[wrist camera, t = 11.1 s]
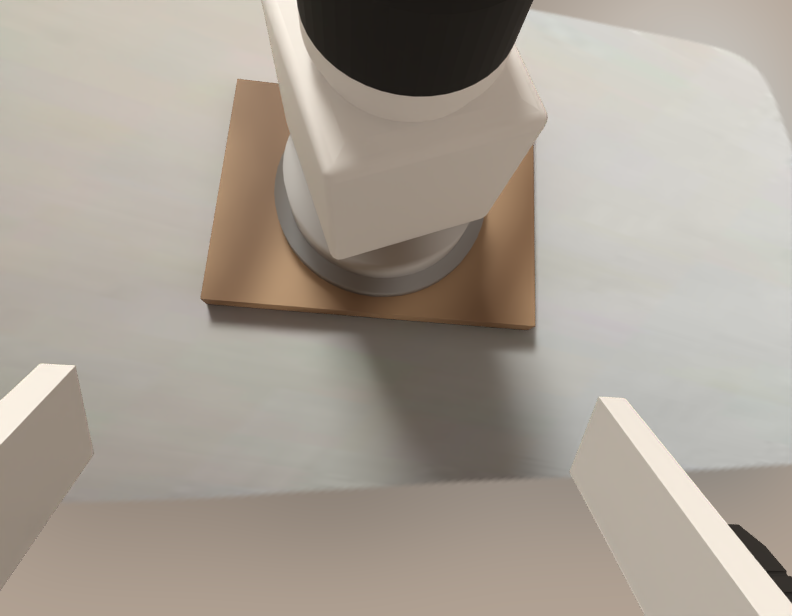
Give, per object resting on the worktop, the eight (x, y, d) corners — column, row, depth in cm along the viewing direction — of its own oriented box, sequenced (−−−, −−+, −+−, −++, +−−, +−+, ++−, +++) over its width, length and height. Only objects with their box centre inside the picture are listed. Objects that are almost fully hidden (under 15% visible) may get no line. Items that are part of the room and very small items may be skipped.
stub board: (206, 303, 23) (177, 279, 19) (241, 91, 26) (222, 33, 22) (527, 329, 24) (561, 312, 20) (526, 124, 27) (555, 75, 23)
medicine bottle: (487, 219, 21) (658, -34, 9) (333, 264, 20) (310, 39, 8) (432, 85, 22) (522, -279, 11) (285, 120, 21) (208, -246, 10)
